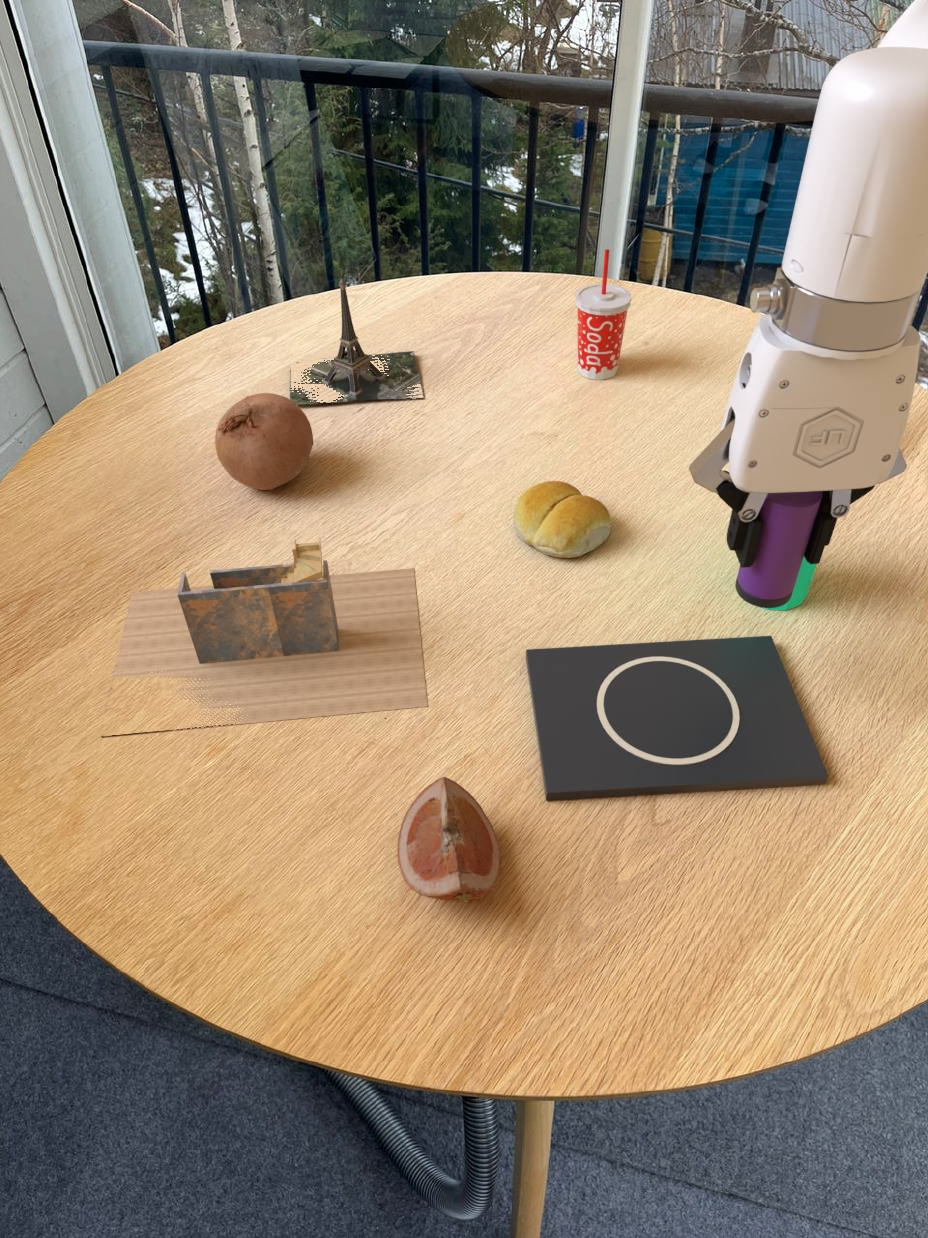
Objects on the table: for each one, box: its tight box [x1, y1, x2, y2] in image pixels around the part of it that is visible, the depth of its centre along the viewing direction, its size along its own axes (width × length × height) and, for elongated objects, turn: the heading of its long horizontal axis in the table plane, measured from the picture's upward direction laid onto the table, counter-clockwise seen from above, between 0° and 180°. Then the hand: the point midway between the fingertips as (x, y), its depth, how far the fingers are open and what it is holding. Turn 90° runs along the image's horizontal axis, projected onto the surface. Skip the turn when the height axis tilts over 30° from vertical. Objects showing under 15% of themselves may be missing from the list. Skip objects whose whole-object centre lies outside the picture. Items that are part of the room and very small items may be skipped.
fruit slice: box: [397, 776, 502, 903], centre depth 61 cm, size 8×7×5 cm
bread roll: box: [513, 480, 611, 559], centre depth 87 cm, size 8×9×4 cm
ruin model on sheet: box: [112, 536, 428, 731], centre depth 75 cm, size 25×16×10 cm, turn 96°
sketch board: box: [525, 635, 830, 802], centre depth 71 cm, size 20×14×1 cm
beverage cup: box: [574, 248, 633, 381], centre depth 104 cm, size 6×6×14 cm
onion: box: [214, 392, 314, 491], centre depth 92 cm, size 10×9×10 cm
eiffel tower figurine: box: [289, 272, 423, 405], centre depth 104 cm, size 15×10×13 cm
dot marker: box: [734, 491, 822, 609], centre depth 65 cm, size 4×4×9 cm
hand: (774, 550), depth 66 cm, fingers closed on dot marker, 4 cm apart
